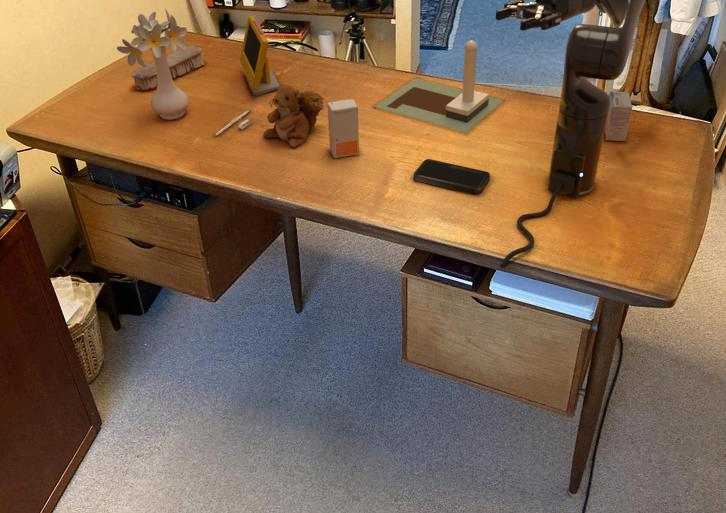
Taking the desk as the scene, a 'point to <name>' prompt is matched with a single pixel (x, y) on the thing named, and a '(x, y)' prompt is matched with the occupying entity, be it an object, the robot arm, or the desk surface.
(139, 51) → the flower vase
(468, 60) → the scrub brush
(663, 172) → the desk surface
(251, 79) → the yellow framed monitor
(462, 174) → the phone
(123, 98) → the desk surface
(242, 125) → the pen with cap
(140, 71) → the shoe brush
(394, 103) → the desk mat
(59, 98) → the desk surface
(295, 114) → the stuffed squirrel
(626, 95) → the medicine box
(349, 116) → the cosmetic box
